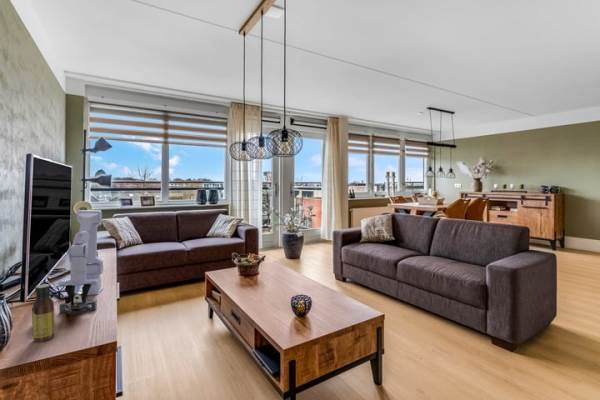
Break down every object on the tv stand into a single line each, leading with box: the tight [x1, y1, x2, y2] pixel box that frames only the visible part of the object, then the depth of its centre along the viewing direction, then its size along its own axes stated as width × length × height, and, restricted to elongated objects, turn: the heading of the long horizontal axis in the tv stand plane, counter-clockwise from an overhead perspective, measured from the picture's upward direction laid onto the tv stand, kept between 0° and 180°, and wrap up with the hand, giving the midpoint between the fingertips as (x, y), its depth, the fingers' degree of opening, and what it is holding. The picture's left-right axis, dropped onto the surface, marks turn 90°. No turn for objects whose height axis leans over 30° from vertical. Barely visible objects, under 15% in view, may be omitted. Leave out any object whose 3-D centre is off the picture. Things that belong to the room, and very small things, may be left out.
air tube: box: [73, 290, 84, 311], centre depth 135 cm, size 4×4×7 cm
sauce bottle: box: [31, 283, 56, 343], centre depth 111 cm, size 7×6×20 cm
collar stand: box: [58, 299, 98, 316], centre depth 136 cm, size 8×14×4 cm, turn 109°
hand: (78, 301), depth 135 cm, fingers closed on air tube, 4 cm apart
